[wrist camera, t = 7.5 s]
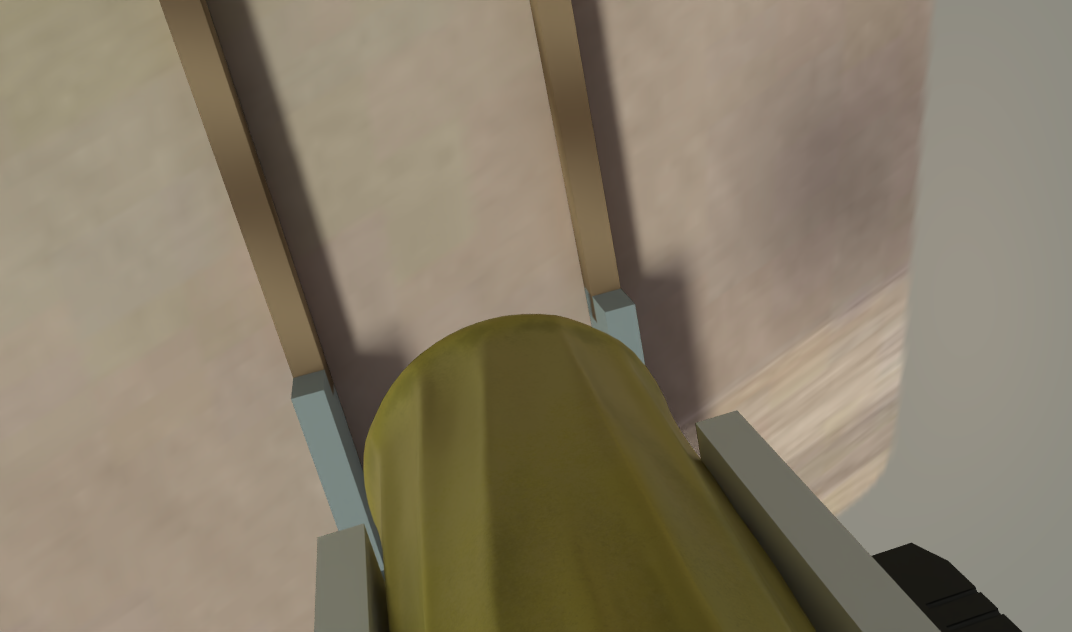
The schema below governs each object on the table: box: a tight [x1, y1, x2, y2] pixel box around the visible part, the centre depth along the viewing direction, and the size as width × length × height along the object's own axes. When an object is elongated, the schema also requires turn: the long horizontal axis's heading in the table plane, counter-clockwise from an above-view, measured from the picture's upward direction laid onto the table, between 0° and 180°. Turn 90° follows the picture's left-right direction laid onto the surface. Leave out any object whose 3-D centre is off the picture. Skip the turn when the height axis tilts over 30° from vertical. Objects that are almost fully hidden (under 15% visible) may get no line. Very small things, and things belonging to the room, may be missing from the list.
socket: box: [291, 287, 645, 581], centre depth 29 cm, size 8×11×3 cm
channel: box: [159, 0, 621, 394], centre depth 26 cm, size 15×11×1 cm
